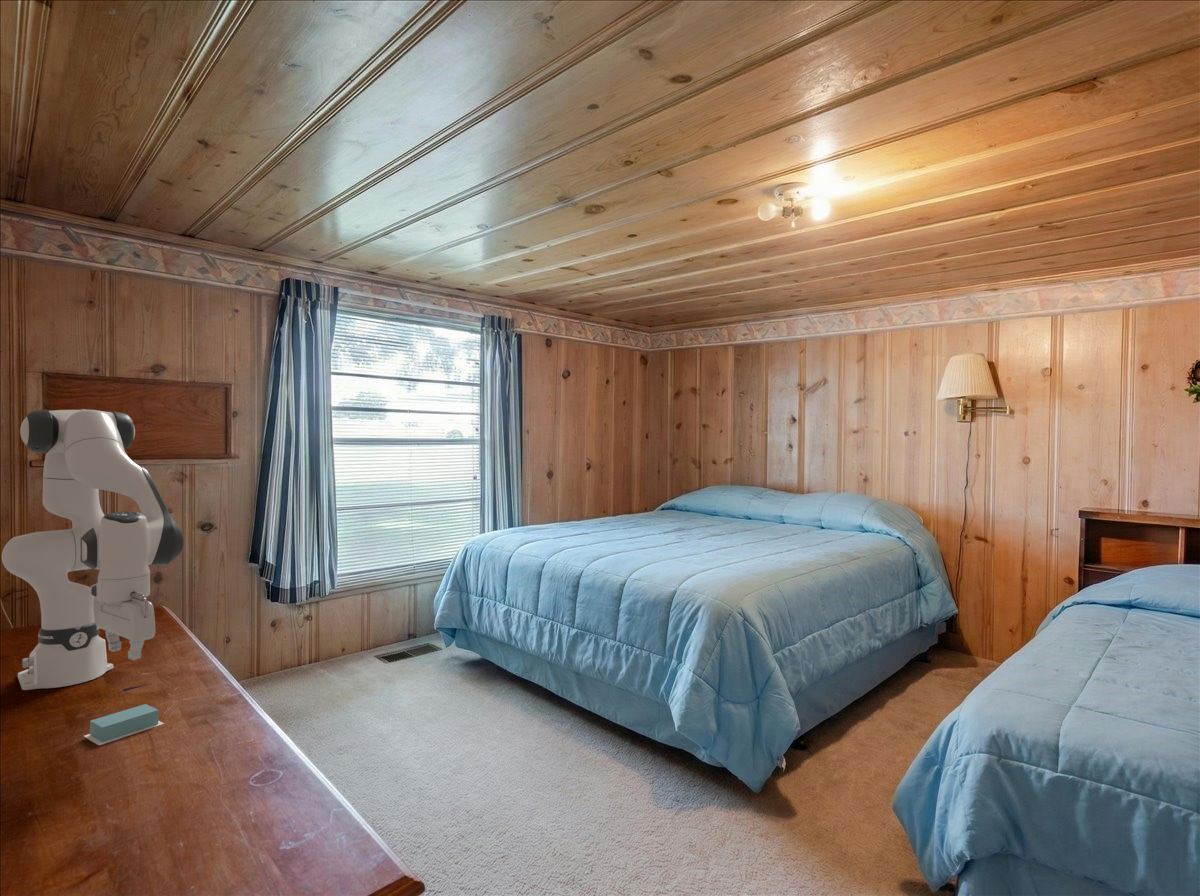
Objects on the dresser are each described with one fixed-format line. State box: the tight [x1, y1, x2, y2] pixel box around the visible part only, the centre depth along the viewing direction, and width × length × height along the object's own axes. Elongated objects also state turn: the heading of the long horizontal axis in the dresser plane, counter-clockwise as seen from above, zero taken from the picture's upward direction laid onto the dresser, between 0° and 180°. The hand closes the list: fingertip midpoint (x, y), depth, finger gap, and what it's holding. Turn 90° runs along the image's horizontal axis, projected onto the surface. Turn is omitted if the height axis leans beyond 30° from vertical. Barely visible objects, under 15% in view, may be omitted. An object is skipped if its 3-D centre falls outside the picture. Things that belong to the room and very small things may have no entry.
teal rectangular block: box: [89, 703, 159, 742], centre depth 132 cm, size 10×6×3 cm, turn 148°
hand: (124, 654), depth 132 cm, fingers open, 8 cm apart
